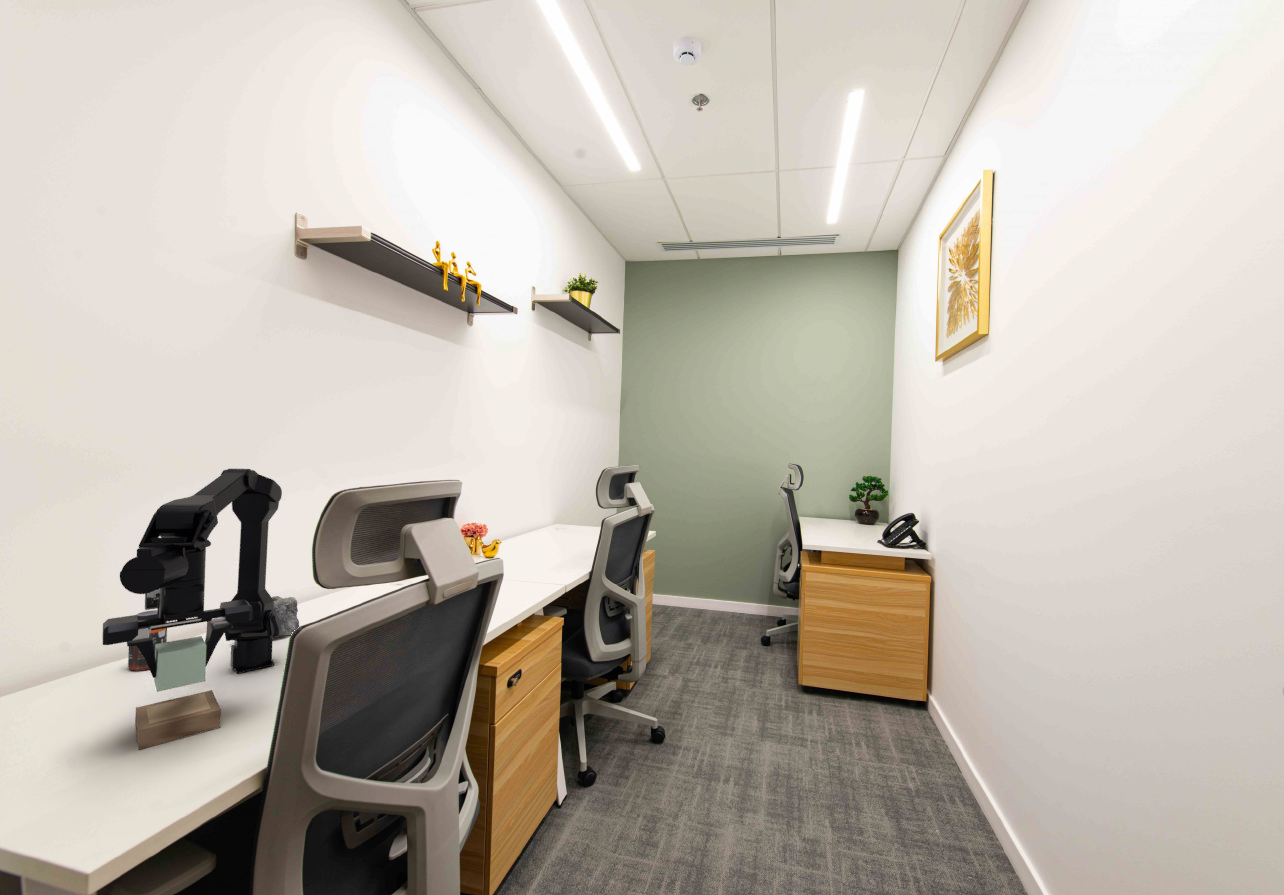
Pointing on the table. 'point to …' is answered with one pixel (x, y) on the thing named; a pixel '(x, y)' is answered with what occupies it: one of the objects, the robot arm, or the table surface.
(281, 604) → the mineral rock
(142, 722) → the walnut base
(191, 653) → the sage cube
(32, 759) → the table surface
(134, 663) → the supplement bottle
